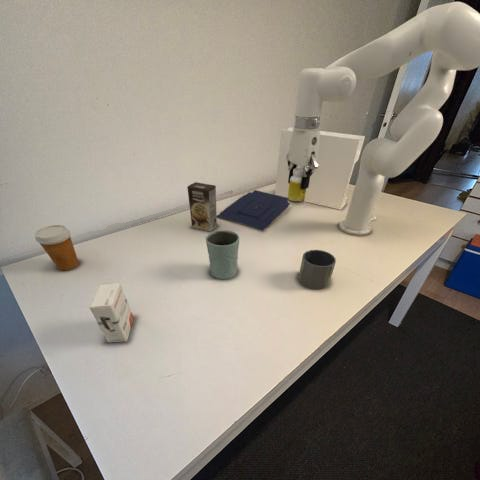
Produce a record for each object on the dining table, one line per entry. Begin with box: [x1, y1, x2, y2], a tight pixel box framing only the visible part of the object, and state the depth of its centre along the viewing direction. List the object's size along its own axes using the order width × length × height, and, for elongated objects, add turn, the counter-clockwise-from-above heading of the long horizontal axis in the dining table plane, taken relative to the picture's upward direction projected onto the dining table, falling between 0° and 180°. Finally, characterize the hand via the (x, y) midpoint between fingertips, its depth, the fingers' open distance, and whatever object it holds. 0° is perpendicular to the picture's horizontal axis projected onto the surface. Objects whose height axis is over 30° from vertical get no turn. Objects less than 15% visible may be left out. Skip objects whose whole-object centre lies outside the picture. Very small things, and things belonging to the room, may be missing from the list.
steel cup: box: [298, 249, 337, 290], centre depth 81 cm, size 10×10×8 cm
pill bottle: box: [287, 168, 306, 206], centre depth 94 cm, size 6×6×11 cm
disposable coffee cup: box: [34, 224, 80, 271], centre depth 83 cm, size 10×10×12 cm
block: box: [274, 126, 366, 210], centre depth 124 cm, size 35×8×28 cm, turn 57°
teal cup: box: [205, 229, 240, 280], centre depth 82 cm, size 10×10×12 cm
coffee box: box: [187, 181, 218, 233], centre depth 104 cm, size 9×6×16 cm
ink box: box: [89, 282, 134, 343], centre depth 63 cm, size 9×5×12 cm, turn 5°
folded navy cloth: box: [217, 189, 291, 232], centre depth 119 cm, size 24×30×4 cm
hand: (298, 185), depth 93 cm, fingers closed on pill bottle, 6 cm apart
